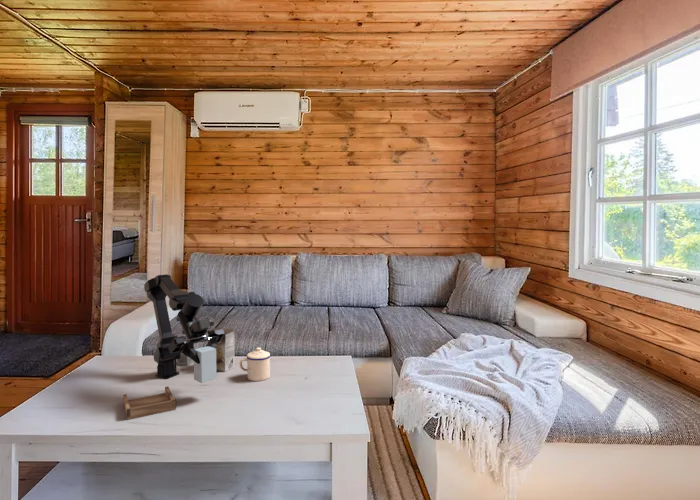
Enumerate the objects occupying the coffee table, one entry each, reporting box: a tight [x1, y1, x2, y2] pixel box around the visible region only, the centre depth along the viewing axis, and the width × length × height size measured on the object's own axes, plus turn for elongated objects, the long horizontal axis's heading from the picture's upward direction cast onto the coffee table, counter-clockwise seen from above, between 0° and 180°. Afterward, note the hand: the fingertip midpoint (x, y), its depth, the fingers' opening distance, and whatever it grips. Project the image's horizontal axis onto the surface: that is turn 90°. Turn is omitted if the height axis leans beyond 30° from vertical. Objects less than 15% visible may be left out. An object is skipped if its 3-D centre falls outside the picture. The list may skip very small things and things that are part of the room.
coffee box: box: [207, 327, 235, 373], centre depth 178 cm, size 9×6×16 cm
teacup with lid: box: [239, 347, 271, 382], centre depth 168 cm, size 12×9×12 cm
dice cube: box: [176, 354, 194, 367], centre depth 184 cm, size 5×5×5 cm
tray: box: [122, 386, 177, 421], centre depth 141 cm, size 14×14×3 cm
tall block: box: [193, 345, 218, 384], centre depth 147 cm, size 5×6×10 cm
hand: (207, 361), depth 146 cm, fingers closed on tall block, 5 cm apart
